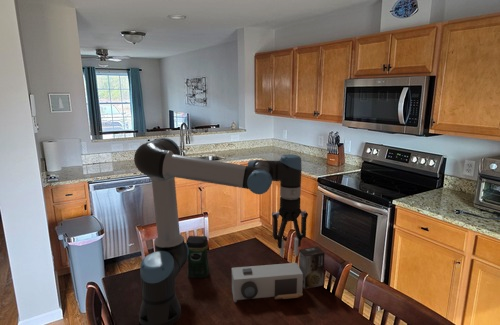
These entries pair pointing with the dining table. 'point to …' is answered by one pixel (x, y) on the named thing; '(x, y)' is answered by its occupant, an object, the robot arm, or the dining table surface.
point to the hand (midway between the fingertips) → (288, 254)
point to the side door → (289, 296)
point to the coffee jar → (197, 257)
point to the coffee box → (312, 266)
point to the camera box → (266, 281)
